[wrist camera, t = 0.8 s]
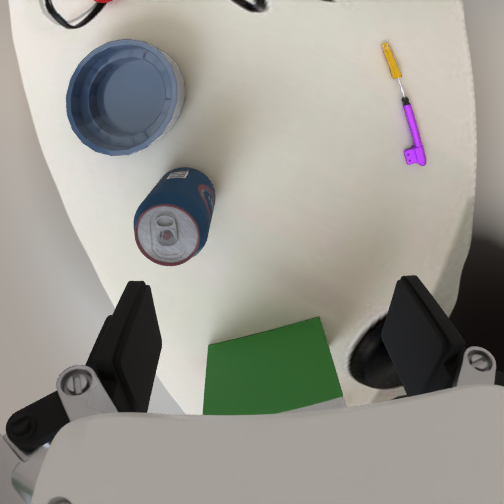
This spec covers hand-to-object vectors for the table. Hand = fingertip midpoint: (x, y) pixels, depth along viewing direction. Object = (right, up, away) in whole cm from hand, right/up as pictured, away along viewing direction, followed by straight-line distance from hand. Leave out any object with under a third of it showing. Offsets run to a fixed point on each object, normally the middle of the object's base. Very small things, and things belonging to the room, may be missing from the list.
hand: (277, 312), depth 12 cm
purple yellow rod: (+17, +20, +21) cm, 33 cm away
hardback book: (+2, -13, +38) cm, 40 cm away
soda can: (-9, +9, +26) cm, 29 cm away
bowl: (-14, +20, +20) cm, 31 cm away
